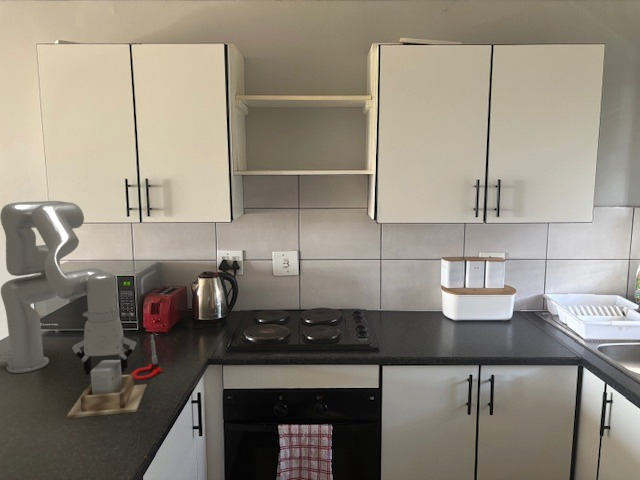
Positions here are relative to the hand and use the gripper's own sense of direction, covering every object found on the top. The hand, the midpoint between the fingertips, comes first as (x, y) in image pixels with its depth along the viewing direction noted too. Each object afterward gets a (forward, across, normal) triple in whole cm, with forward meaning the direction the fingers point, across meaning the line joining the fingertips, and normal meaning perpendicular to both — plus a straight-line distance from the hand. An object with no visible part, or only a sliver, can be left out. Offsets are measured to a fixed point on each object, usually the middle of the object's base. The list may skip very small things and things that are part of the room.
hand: (106, 371), depth 136 cm
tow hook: (+10, +8, +17) cm, 21 cm away
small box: (+9, 0, 0) cm, 9 cm away
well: (+9, 0, 0) cm, 9 cm away
